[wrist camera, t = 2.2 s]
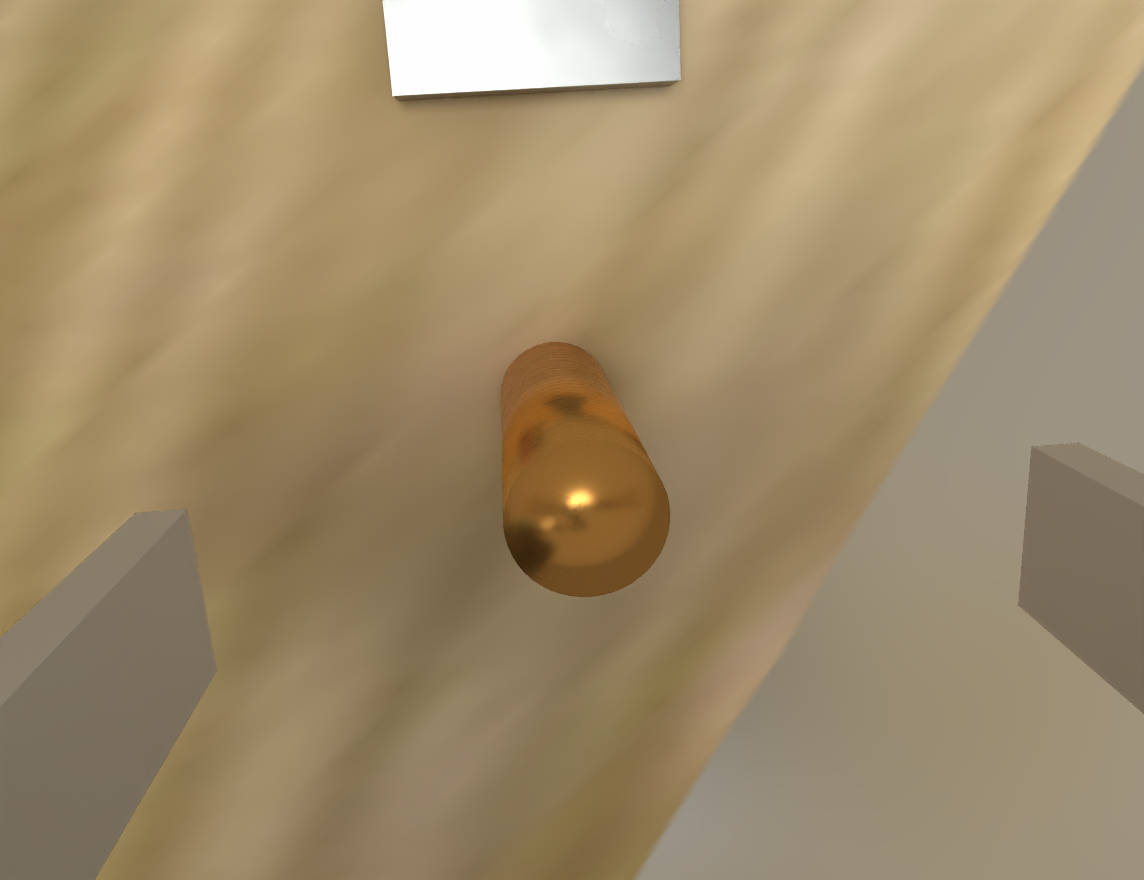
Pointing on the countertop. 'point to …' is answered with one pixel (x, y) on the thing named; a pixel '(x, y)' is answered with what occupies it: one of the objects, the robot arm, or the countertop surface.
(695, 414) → the countertop surface
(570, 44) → the lower chain end
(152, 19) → the countertop surface
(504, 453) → the orange pin
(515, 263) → the countertop surface
